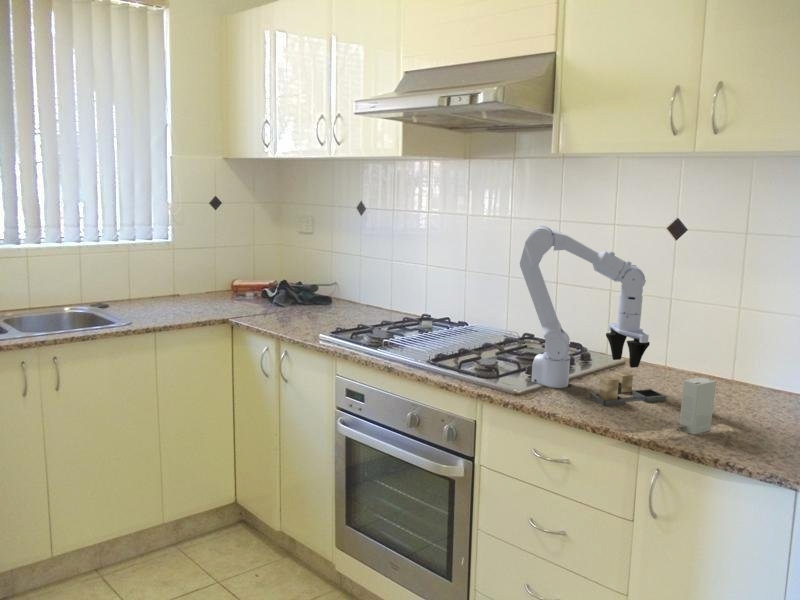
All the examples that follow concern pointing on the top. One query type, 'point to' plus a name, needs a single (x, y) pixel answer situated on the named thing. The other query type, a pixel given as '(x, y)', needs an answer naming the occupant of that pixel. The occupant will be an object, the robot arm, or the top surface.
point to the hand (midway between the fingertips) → (625, 363)
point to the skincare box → (697, 405)
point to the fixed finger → (609, 388)
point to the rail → (639, 395)
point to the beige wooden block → (624, 381)
